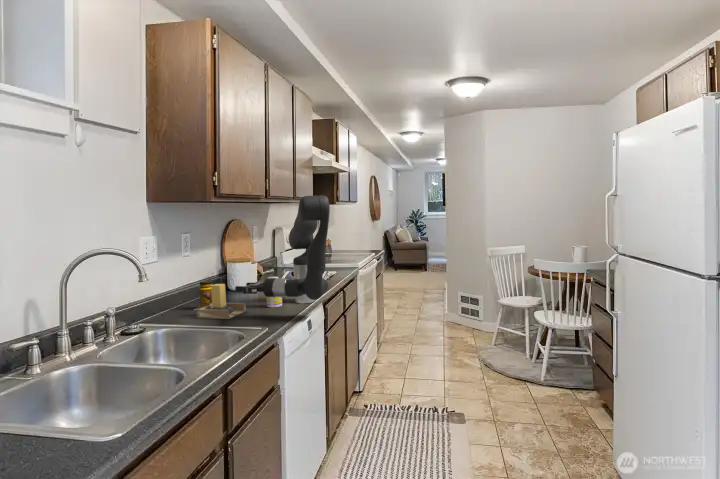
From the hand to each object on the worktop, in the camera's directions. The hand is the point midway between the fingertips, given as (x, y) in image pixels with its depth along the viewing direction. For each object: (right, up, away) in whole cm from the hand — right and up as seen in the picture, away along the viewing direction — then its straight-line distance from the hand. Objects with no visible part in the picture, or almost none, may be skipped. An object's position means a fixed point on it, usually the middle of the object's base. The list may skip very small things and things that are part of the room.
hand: (241, 287), depth 196 cm
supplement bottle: (+11, -10, +16) cm, 22 cm away
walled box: (-9, -12, +3) cm, 15 cm away
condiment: (-20, -11, +18) cm, 29 cm away
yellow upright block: (-10, -11, +4) cm, 15 cm away
